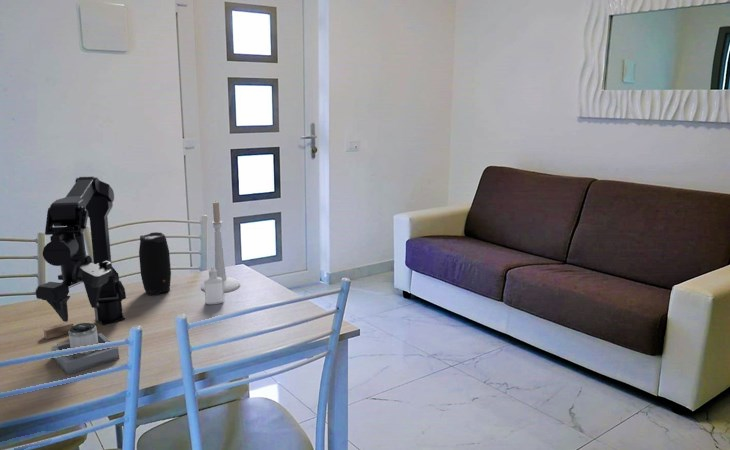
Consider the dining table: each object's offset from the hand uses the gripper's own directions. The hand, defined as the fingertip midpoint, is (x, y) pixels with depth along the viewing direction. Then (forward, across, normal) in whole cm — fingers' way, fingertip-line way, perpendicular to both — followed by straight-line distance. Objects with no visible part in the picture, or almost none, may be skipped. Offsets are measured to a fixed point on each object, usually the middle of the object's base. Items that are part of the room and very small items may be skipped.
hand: (80, 314), depth 138 cm
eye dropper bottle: (+12, +43, -11) cm, 46 cm away
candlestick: (+12, +57, -5) cm, 58 cm away
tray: (+12, 0, 0) cm, 12 cm away
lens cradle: (+12, +7, +12) cm, 18 cm away
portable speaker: (+12, +46, +13) cm, 49 cm away
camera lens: (+11, 0, 0) cm, 11 cm away
